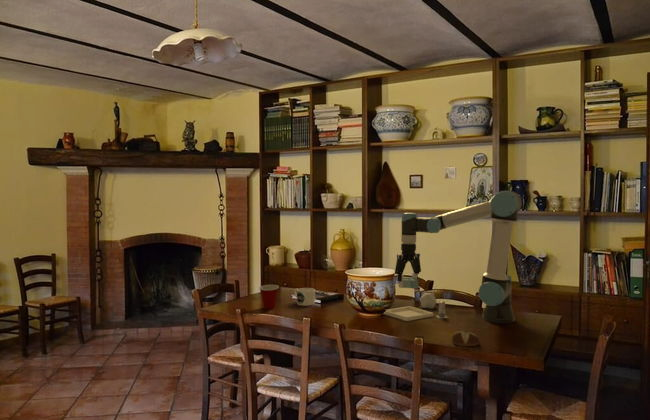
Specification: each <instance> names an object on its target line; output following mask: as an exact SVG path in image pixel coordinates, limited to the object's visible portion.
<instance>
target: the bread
mask: <svg viewBox="0 0 650 420" xmlns="http://www.w3.org/2000/svg"><path fill="white" fill-rule="evenodd" d="M451 341H452V343H453V344H454V345H455V346H457V345H459V347H466V346H474V347H476V346H478V345H479V344H480V340H479V337H478V336H477V334H476V333H473V332H472V331H467V332H464V331H463V330H461V329H460V330H458V331H456V332H454V333H453V336H452V340H451Z"/></svg>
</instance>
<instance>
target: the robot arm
mask: <svg viewBox="0 0 650 420" xmlns="http://www.w3.org/2000/svg"><path fill="white" fill-rule="evenodd" d="M522 206H523V200H522V197H521V196H520V195H519V193H517V192H515V191H513V190H501V191H500V190H499V192H496V193H495V194H494V195H493V197H491V198H490V200H487V201H483V202H481V203H476V204H474V205H470V206H466V207H463V208H460V209H457V210H454V211H449V212H445V213H442V214H439V215H436V216H431V217H419V216H418V215H417V213H415V212H414V213H413V212H404V213H403V214H402V215H401V235H400V237H401V239H400V241H401V243H400V244H401V245H400V250H401V254H399V253H398V254H396V263H395V269H394V274H396V275H397V281H398V288H399V289H404V288H403V278H404V277H405V276H404V271H405V269H406V267H407V266H406V265H407V264H408V263H410V266H411V270H412V272H413V273H412V275H411V277H412V278H416V280H418V278H419V277H418V276H419V274H420V273H421V272H422V268H421V259H420V256H421V253H418V252H416V251H417V244H416V243H417V233H426V234H427V233H429V234H439V232H440V231H441V230H445V229H448V228H451V227H455V226H458V225H459V226H460V225H463V224H466V223H470V222H474V221H475V222H476V221H478V220H482V219H486V218H489V217H490V219H491V221H493V223H492V229H491V230H492V231H491V238H490V246H489V253H488V259H487V266H486V271H485V272H484V273H482V277H481V285H479V287H478V297H479V299H480V300H481V302H482V303H483V304H485V307H484V310H483V313H482V320H483V321H486V322H489V323H493V324H501V325H503V324H506V325H507V324H513V323H515V321H516V320H515V319H516V318H515V314H514V310H513V307H512V285H513V284H512V283H513V281H512V280H513V279H512V276H511V275H510V274H506V273H507V269H508V268H507V266H508V261H509V260H508V259H509V251H510V246H511V238H512V232H513V225H514V224H515V223H517V222H518V221H517V220H518V214H519V211H520V210H521V209H522Z"/></svg>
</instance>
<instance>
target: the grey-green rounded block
mask: <svg viewBox="0 0 650 420" xmlns="http://www.w3.org/2000/svg"><path fill="white" fill-rule="evenodd" d="M404 288H405V289H415V290H417V289H419V280H418V279H417V280H416V278H412V276H409V277H407V276H404V278H403V288H402V289H404Z"/></svg>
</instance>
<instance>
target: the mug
mask: <svg viewBox="0 0 650 420" xmlns="http://www.w3.org/2000/svg"><path fill="white" fill-rule="evenodd" d="M293 293H294V296H295V298H296V304H297V305H298V306H301V307H302V306H306V307H308V306H313V305H315V300H316V298H315V297H316V289H315V288H312V287H302V288H301V287H299V288H294V290H293Z"/></svg>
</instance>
